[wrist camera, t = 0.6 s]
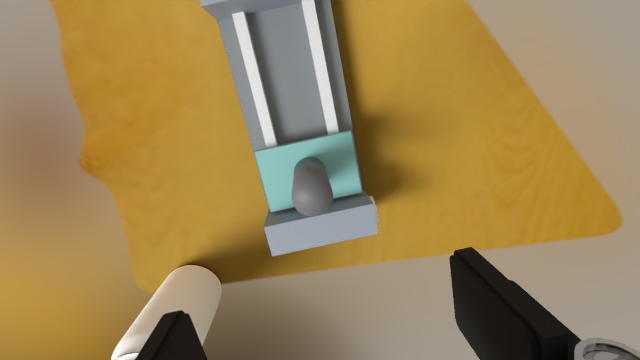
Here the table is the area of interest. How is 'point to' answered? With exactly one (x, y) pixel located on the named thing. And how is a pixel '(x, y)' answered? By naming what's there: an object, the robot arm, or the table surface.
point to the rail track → (293, 103)
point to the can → (174, 307)
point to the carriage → (309, 173)
